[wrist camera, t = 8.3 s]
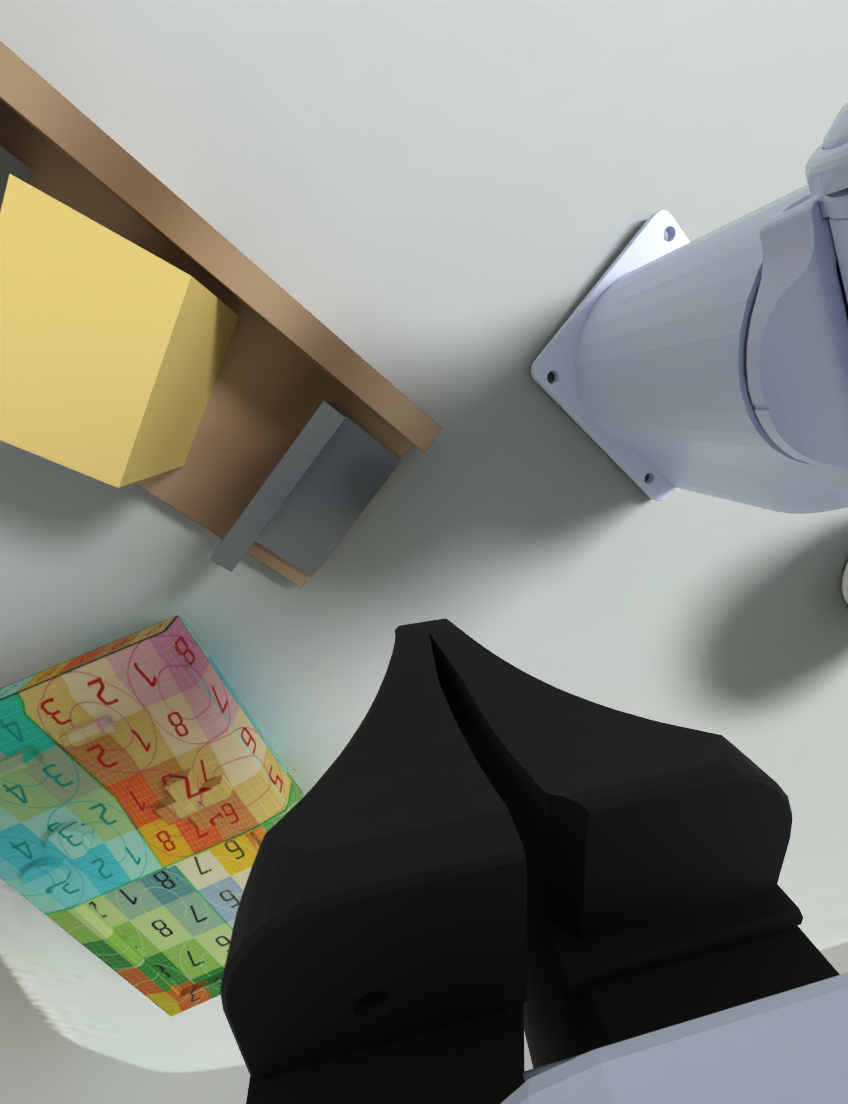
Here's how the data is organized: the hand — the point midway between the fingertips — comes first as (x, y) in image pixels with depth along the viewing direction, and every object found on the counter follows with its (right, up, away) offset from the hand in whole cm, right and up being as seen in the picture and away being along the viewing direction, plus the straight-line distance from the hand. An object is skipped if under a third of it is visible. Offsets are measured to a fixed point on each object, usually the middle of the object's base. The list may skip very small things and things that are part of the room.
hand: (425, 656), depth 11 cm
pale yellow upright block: (-10, +9, +5) cm, 14 cm away
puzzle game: (-12, -10, +12) cm, 20 cm away
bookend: (-4, +5, +7) cm, 10 cm away
